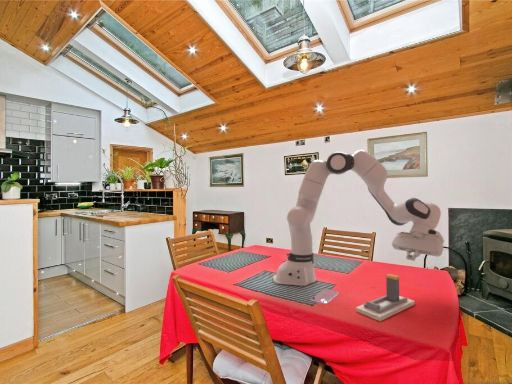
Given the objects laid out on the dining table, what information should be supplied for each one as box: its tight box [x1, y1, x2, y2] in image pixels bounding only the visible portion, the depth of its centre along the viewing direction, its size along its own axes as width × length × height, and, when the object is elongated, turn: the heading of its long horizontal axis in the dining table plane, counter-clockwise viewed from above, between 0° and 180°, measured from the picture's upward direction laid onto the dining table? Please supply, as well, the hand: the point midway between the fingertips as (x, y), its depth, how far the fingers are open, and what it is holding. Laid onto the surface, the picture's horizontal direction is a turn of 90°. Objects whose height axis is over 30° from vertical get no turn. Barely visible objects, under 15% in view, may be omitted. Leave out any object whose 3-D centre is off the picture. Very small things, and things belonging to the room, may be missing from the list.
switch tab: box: [385, 273, 401, 302], centre depth 112 cm, size 3×4×10 cm, turn 33°
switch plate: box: [355, 294, 416, 322], centre depth 109 cm, size 24×10×4 cm, turn 123°
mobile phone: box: [310, 288, 340, 305], centre depth 122 cm, size 8×1×15 cm
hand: (410, 259), depth 119 cm, fingers closed
